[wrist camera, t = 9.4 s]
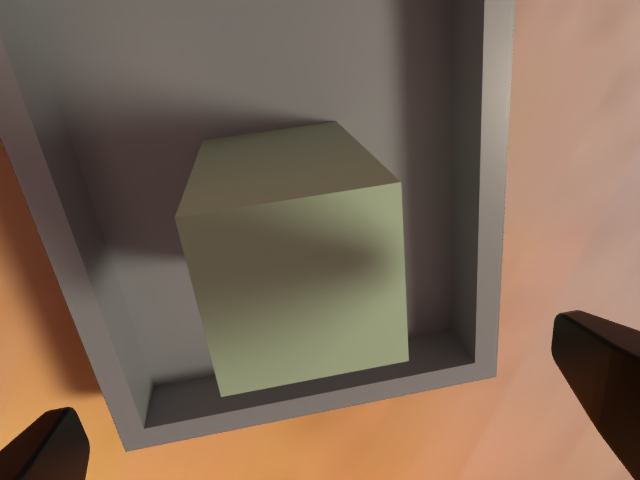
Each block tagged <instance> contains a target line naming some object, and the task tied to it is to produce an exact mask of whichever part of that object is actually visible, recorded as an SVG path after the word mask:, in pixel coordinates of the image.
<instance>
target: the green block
mask: <svg viewBox="0 0 640 480" xmlns="http://www.w3.org/2000/svg"><path fill="white" fill-rule="evenodd" d="M175 221H176V225H177V229H178V232H179V236H180V240H181V244H182V248H183V252H184V256H185V259H186V263H187V267H188V271H189V275H190V279H191V283H192V287H193V290H194V294H195V298H196V302H197V306H198V310H199V314H200V317H201V321H202V325H203V329H204V333H205V337H206V341H207V344H208V348H209V352H210V356H211V360H212V364H213V368H214V371H215V375H216V379H217V383H218V387H219V391H220V395H221V397H224V396H229V395H235V394H240V393H245V392H250V391H255V390H261V389H266V388H271V387H276V386H281V385H287V384H292V383H297V382H302V381H307V380H312V379H318V378H323V377H328V376H333V375H338V374H344V373H349V372H354V371H359V370H364V369H370V368H375V367H380V366H385V365H390V364H395V363H401V362H406V361H409V353H408V329H407V306H406V282H405V259H404V235H403V212H402V188H401V181H399V180H398V179H397V178H396V177H395V176H394V175H393V174H392V173H391V172H390V171H389V170H388V169H387V168H386V167H385V166H384V165H382V164H381V163H380V162H379V161H378V160H377V159H376V158H375V157H374V156H373V155H372V154H371V153H370V152H369V151H368V150H367V149H365V148H364V147H363V146H362V145H361V144H360V143H359V142H358V141H357V140H356V139H355V138H354V137H353V136H352V135H351V134H349V133H348V132H347V131H346V130H345V129H344V128H343V127H342V126H341V125H340V124H339V123H338V122H337V121H334V122H327V123H320V124H313V125H306V126H299V127H293V128H286V129H279V130H272V131H265V132H258V133H251V134H244V135H237V136H230V137H223V138H216V139H209V140H203V141H202V144H201V147H200V149H199V152H198V155H197V158H196V160H195V163H194V166H193V169H192V171H191V174H190V177H189V180H188V182H187V185H186V188H185V191H184V193H183V196H182V199H181V202H180V204H179V207H178V210H177V213H176V216H175Z"/></svg>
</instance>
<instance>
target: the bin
mask: <svg viewBox="0 0 640 480" xmlns="http://www.w3.org/2000/svg"><path fill="white" fill-rule="evenodd" d="M514 14H515V0H0V138H1V140H2V143H3V145H4V148H5V150H6V153H7V155H8V158H9V160H10V163H11V165H12V168H13V170H14V173H15V175H16V178H17V180H18V183H19V185H20V188H21V190H22V193H23V195H24V198H25V200H26V203H27V205H28V208H29V210H30V213H31V215H32V218H33V220H34V223H35V226H36V228H37V231H38V233H39V236H40V238H41V241H42V243H43V246H44V248H45V251H46V253H47V256H48V258H49V261H50V263H51V266H52V268H53V271H54V273H55V276H56V278H57V281H58V283H59V286H60V288H61V291H62V293H63V296H64V298H65V301H66V303H67V306H68V308H69V311H70V313H71V316H72V318H73V321H74V323H75V326H76V328H77V331H78V333H79V336H80V338H81V341H82V343H83V346H84V349H85V351H86V354H87V356H88V359H89V361H90V364H91V366H92V369H93V371H94V374H95V376H96V379H97V381H98V384H99V386H100V389H101V391H102V394H103V396H104V399H105V401H106V404H107V406H108V409H109V411H110V414H111V416H112V419H113V421H114V424H115V426H116V429H117V431H118V434H119V436H120V439H121V441H122V444H123V446H124V449H125V451H126V452H127V451H132V450H137V449H142V448H147V447H152V446H157V445H162V444H167V443H172V442H177V441H182V440H187V439H191V438H196V437H201V436H206V435H211V434H216V433H221V432H226V431H231V430H236V429H241V428H246V427H251V426H256V425H261V424H266V423H271V422H276V421H280V420H285V419H290V418H295V417H300V416H305V415H310V414H315V413H320V412H325V411H330V410H335V409H340V408H345V407H350V406H355V405H360V404H365V403H369V402H374V401H379V400H384V399H389V398H394V397H399V396H404V395H409V394H414V393H419V392H424V391H429V390H434V389H439V388H444V387H449V386H453V385H458V384H463V383H468V382H473V381H478V380H483V379H488V378H493V377H496V372H497V352H498V333H499V313H500V293H501V273H502V253H503V233H504V213H505V193H506V173H507V153H508V134H509V114H510V94H511V74H512V54H513V34H514ZM334 121H337V122H338V123H339V124H340V125H341V126H342V127H343V128H344V129H345V130H346V131H347V132H348V133H349V134H351V135H352V136H353V137H354V138H355V139H356V140H357V141H358V142H359V143H360V144H361V145H362V146H363V147H364V148H365V149H367V150H368V151H369V152H370V153H371V154H372V155H373V156H374V157H375V158H376V159H377V160H378V161H379V162H380V163H381V164H382V165H384V166H385V167H386V168H387V169H388V170H389V171H390V172H391V173H392V174H393V175H394V176H395V177H396V178H397V179H398V180H399V181H401V188H402V212H403V235H404V259H405V282H406V306H407V329H408V353H409V361H406V362H401V363H395V364H390V365H385V366H380V367H375V368H370V369H364V370H359V371H354V372H349V373H344V374H338V375H333V376H328V377H323V378H318V379H312V380H307V381H302V382H297V383H292V384H287V385H281V386H276V387H271V388H266V389H261V390H255V391H250V392H245V393H240V394H235V395H229V396H224V397H221V395H220V391H219V387H218V383H217V379H216V375H215V371H214V368H213V364H212V360H211V356H210V352H209V348H208V344H207V341H206V337H205V333H204V329H203V325H202V321H201V317H200V314H199V310H198V306H197V302H196V298H195V294H194V290H193V287H192V283H191V279H190V275H189V271H188V267H187V263H186V259H185V256H184V252H183V248H182V244H181V240H180V236H179V232H178V229H177V225H176V221H175V216H176V213H177V210H178V207H179V204H180V202H181V199H182V196H183V193H184V191H185V188H186V185H187V182H188V180H189V177H190V174H191V171H192V169H193V166H194V163H195V160H196V158H197V155H198V152H199V149H200V147H201V144H202V141H203V140H209V139H216V138H223V137H230V136H237V135H244V134H251V133H258V132H265V131H272V130H279V129H286V128H293V127H299V126H306V125H313V124H320V123H327V122H334Z"/></svg>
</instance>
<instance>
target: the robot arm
mask: <svg viewBox="0 0 640 480" xmlns="http://www.w3.org/2000/svg"><path fill="white" fill-rule="evenodd" d="M551 350H552V356H553V358H554V361H555V363H556V364H557V366H558V367H559V369H560V371H561V372H562V374H563V376H564V377H565V379H566V380H567V382H568V384H569V385H570V387H571V389H572V390H573V392H574V394H575V395H576V397H577V398H578V400H579V402H580V403H581V405H582V407H583V408H584V410H585V411H586V413H587V415H588V416H589V418H590V420H591V421H592V423H593V424H594V426H595V427H596V429H597V430H598V432H599V433H600V434H601V436H602V437H603V439H604V440H605V441H606V443H607V444H608V445H609V447H610V448H611V449H612V451H613V452H614V453H615V455H616V456H617V457H618V459H619V460H620V461H621V462H622V464H623V465H624V466H625V468H626V469H627V470H628V472H629V473H630V474H631V476H632V477H633V478H634V480H640V331H638V330H635V329H632V328H630V327H627V326H624V325H621V324H618V323H615V322H612V321H609V320H606V319H603V318H600V317H598V316H595V315H592V314H589V313H586V312H583V311H580V310H574V311H569V312H564V313H560V314H558V315H557V316H556V317H555V320H554V328H553V337H552V346H551ZM89 454H90V446H89V440H88V438H87V435H86V433H85V431H84V429H83V426H82V424H81V422H80V419H79V417H78V415H77V413H76V411H75V410H74V409H73V408H71V407H65V408H59V409H54V410H50V411H47V412H45V413H44V414H43V415H41V416H40V417H39V418H38V419H37V420H36V421H34V422H33V423H32V424H31V425H30V426H29V427H27V428H26V429H25V430H24V431H23V432H22V433H20V434H19V435H18V436H17V437H16V438H15V439H14V440H12V441H11V442H10V443H9V444H8V445H7V446H5V447H4V448H3V449H2V450H1V451H0V480H85V478H86V472H87V466H88V460H89Z"/></svg>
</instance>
